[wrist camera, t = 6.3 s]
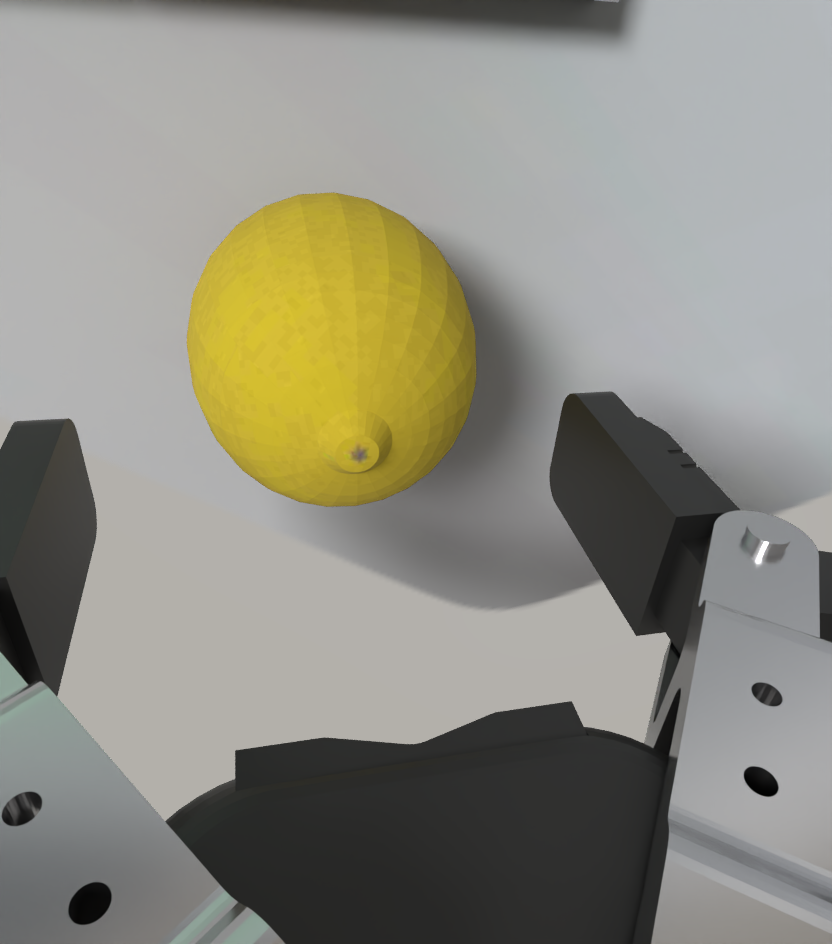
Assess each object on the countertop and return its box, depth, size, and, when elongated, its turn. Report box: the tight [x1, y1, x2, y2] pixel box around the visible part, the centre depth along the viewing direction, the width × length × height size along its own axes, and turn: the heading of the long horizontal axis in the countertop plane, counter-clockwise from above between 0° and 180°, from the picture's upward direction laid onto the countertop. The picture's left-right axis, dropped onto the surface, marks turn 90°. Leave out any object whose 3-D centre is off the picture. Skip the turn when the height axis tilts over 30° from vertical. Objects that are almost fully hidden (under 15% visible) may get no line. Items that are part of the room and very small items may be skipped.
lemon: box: [187, 193, 476, 507], centre depth 14 cm, size 6×6×8 cm
